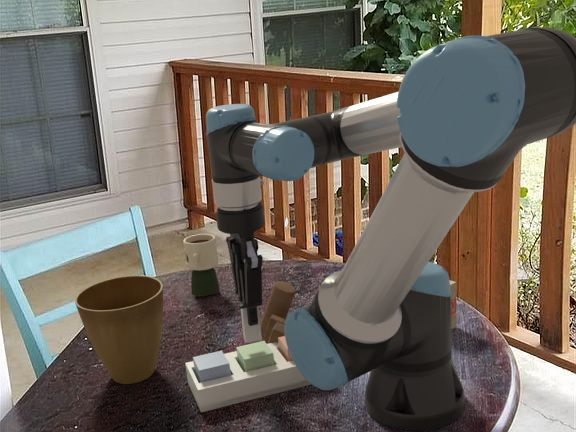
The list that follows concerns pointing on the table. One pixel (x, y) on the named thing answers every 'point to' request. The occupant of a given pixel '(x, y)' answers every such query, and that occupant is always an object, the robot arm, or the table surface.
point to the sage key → (254, 356)
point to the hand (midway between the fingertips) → (252, 339)
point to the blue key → (211, 366)
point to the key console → (245, 382)
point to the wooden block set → (277, 311)
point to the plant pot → (124, 324)
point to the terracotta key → (284, 349)
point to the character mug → (202, 263)
